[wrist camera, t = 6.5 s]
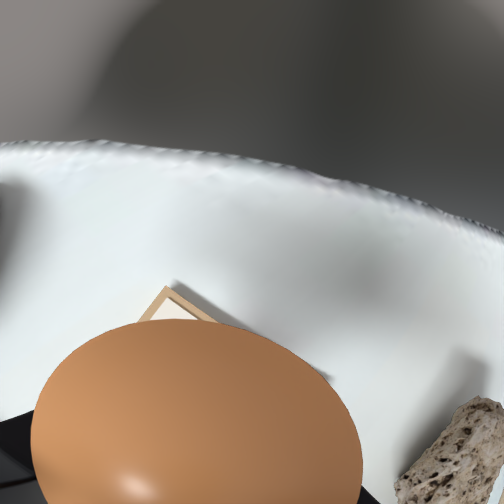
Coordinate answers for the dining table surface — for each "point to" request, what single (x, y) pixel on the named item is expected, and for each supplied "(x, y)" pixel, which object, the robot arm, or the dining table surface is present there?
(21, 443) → the robot arm
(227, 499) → the toy microphone
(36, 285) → the dining table surface
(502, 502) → the wooden puzzle
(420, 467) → the pumice stone
